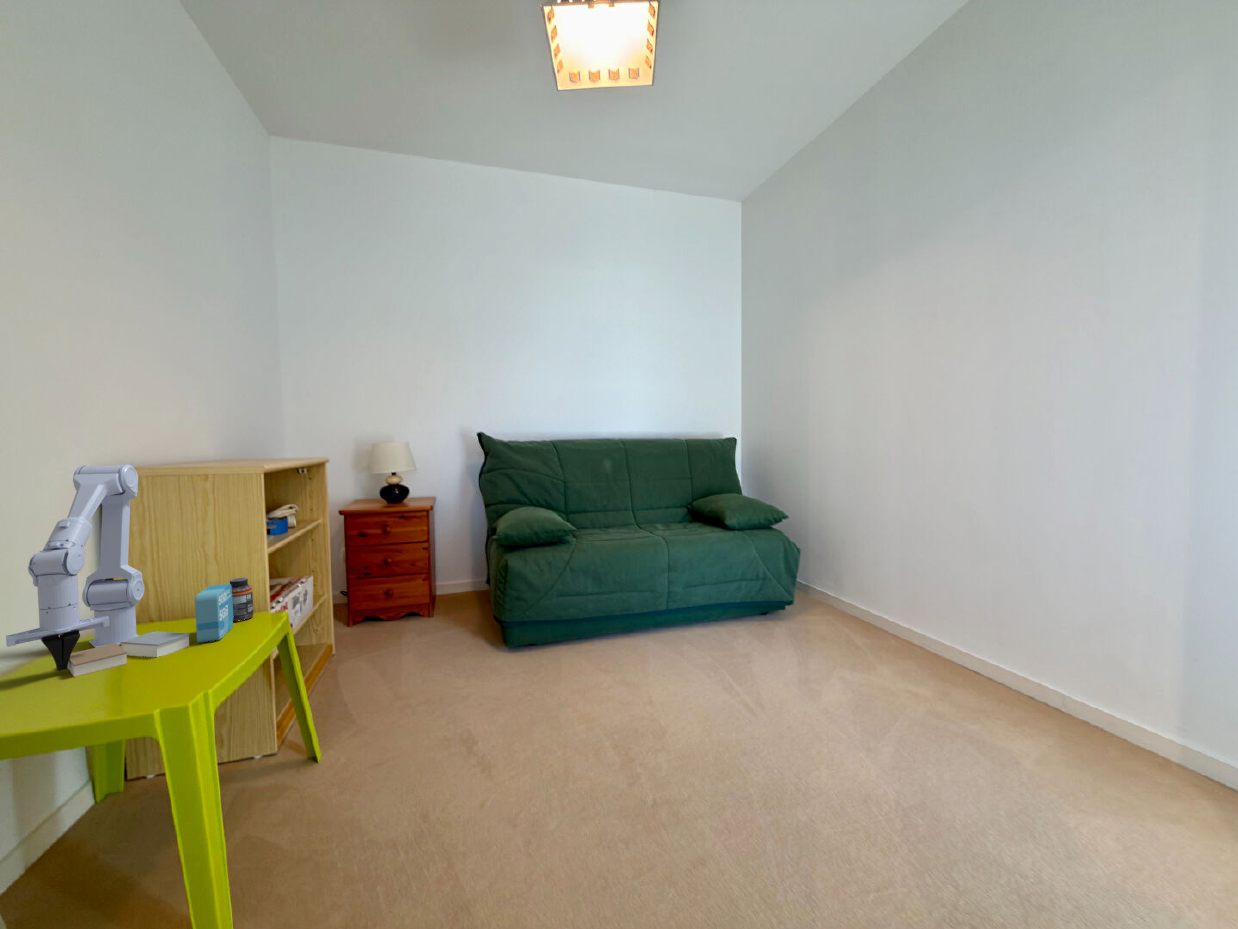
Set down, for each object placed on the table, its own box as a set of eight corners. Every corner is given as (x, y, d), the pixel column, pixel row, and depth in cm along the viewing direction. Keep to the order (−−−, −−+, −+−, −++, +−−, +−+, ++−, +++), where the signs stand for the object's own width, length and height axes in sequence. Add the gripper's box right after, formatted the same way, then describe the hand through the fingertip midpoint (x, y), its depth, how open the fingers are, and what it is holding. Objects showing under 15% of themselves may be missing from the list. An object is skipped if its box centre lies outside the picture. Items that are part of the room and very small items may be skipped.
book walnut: (66, 668, 111) (65, 654, 111) (116, 655, 118) (116, 643, 118) (74, 679, 105) (73, 664, 105) (127, 665, 112) (126, 652, 112)
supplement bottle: (230, 617, 143) (229, 578, 143) (256, 614, 146) (254, 575, 145) (224, 624, 138) (222, 582, 137) (250, 620, 140) (248, 580, 140)
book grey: (121, 656, 117) (120, 641, 117) (154, 645, 124) (154, 631, 124) (158, 659, 115) (157, 644, 115) (190, 647, 122) (189, 633, 122)
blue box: (219, 641, 124) (217, 593, 124) (196, 645, 123) (194, 595, 122) (233, 626, 135) (231, 582, 135) (212, 629, 134) (210, 584, 133)
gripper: (7, 618, 99) (11, 687, 99) (111, 599, 111) (114, 661, 111) (3, 612, 103) (7, 678, 103) (104, 595, 115) (106, 654, 115)
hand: (62, 669), depth 107 cm, fingers closed
